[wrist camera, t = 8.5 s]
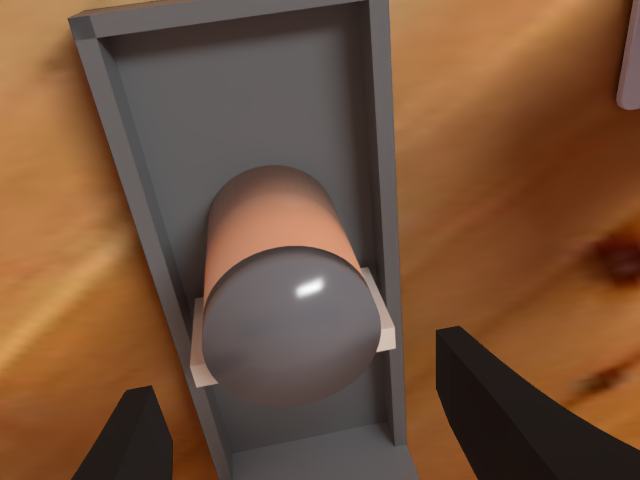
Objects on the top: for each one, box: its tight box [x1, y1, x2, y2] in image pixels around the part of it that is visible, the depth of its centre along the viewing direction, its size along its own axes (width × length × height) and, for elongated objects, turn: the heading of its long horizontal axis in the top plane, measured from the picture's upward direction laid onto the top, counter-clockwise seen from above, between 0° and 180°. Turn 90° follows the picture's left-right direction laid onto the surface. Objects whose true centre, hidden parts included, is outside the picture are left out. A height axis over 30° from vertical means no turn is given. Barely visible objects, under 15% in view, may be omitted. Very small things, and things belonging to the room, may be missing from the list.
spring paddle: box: [190, 267, 396, 388], centre depth 20 cm, size 7×1×4 cm, turn 96°
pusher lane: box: [68, 0, 420, 480], centre depth 20 cm, size 9×22×5 cm, turn 6°
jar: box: [202, 165, 381, 407], centre depth 18 cm, size 5×5×7 cm
